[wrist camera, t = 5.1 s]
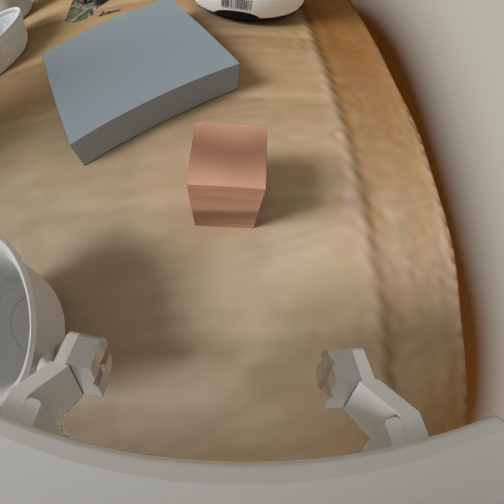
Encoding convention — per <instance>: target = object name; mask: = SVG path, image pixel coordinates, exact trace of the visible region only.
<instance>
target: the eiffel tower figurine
mask: <svg viewBox="0 0 504 504" xmlns="http://www.w3.org/2000/svg"><path fill="white" fill-rule="evenodd" d="M107 1H108V0H82V1H80V0H73V2H72V4H71V7H70V10H69V12H68V15H67V18H66V21H68V22H77V21H81V20H83V19H86V18H88V17H90V16H92V15H94V14H93V9H92V8H96V9H97V8H98V7H100V6H101V5H103V4H104V3H105V2H107ZM119 10H120V9H116V10H113V11H108V12H106V13H105V12H104V11H103V12H102V13H101V14H100V16H102V15H105V14H109V13H112V12H115V11H119Z"/></svg>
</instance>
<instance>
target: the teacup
mask: <svg viewBox="0 0 504 504" xmlns="http://www.w3.org/2000/svg"><path fill="white" fill-rule="evenodd" d="M64 339H65V318H64V313H63V309H62V306H61V303H60V301H59V299H58V297H57V295H56V293H55V291H54V290H53V288H52V287H51V286H50V285H49V284H48V282H47V281H46V280H45V279H44V278H43V277H42V276H40V275H39V274H38V273H37V272H35V271H34V270H32V269H31V268H29V267H28V266H26V265H25V264H24V263H23V262H22V260H21V258H20V256H19V254H18V253H17V252H16V250H15V249H14V247H13V246H12V245H11V244H10V243H9V242H8V241H7V240H6V239H5V238H3V237H2V236H1V235H0V407H2V406H3V405H4V403H5V400H6V398H7V396H8V394H9V392H10V390H11V389H12V388H13V387H15V386H16V385H18V384H19V383H21V382H22V381H23V380H25V379H26V378H28V377H29V376H30V375H32V374H33V373H35V372H36V371H38V370H39V369H40V368H42V367H43V366H45V365H46V364H48V363H49V362H51V361H52V362H54V360H55V358H56V356H57V354H58V352H59V350H60V348H61V346H62V343H63V341H64Z"/></svg>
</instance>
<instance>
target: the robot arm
mask: <svg viewBox="0 0 504 504" xmlns="http://www.w3.org/2000/svg"><path fill="white" fill-rule="evenodd" d="M107 345H108V343H107V340H106V338H105V337H100V336H94V335H88V334H83V333H77V332H71V331H70V332H69V333H68V334H67V335H66V337H65V339H64V341H63V343H62V346H61V348H60V350H59V352H58V354H57V356H56V358H55V360H54V362H52V361H51V362H49V363H48V364H46V365H45V366H43V367H42V368H40V369H39V370H38V371H36V372H35V373H33V374H32V375H30V376H29V377H28V378H26V379H25V380H23V381H22V382H21V383H19V384H18V385H16V386H15V387H13V388H12V389H11V390H10V392H9V394H8V396H7V398H6V400H5V403H4V405H3V407H2V410H1V412H0V504H504V420H503V419H502V418H499V417H498V416H490V417H487V418H484V419H482V420H479V421H477V422H474V423H471V424H468V425H466V426H463V427H460V428H457V429H454V430H451V431H448V432H444V433H441V434H438V435H434V436H431V437H429V435H428V433H427V430H426V427H425V425H424V422H423V420H422V417H421V415H420V412H419V411H418V410H417V409H415V408H414V407H413V406H412V405H410V404H409V403H408V402H407V401H405V400H404V399H403V398H402V397H400V396H399V395H398V394H397V393H395V392H394V391H393V390H392V389H390V388H389V387H388V386H387V385H385V384H384V383H383V382H382V381H380V380H379V379H375V377H374V374H373V372H372V369H371V367H370V364H369V361H368V359H367V356H366V354H365V351H364V349H363V348H362V347H361V348H338V349H325V350H324V351H323V353H322V359H323V360H322V361H321V362H320V363H319V364H318V367H317V372H316V379H317V385H318V387H319V388H321V389H322V391H321V394H320V398H321V403H322V407H323V409H334V408H343V409H344V410H345V411H346V412H347V414H348V415H349V416H350V417H351V418H352V419H353V420H354V421H355V422H356V423H357V425H358V426H359V427H360V428H361V429H362V430H363V431H364V432H365V433H366V434H367V435H368V437H369V438H370V440H369V441H368V442H367V443H366V445H365V446H364V447H363V448H362V449H361V451H362V452H359V453H352V454H346V455H338V456H331V457H322V458H312V459H300V460H285V461H256V462H237V461H208V460H193V459H181V458H171V457H163V456H155V455H148V454H141V453H135V452H129V451H123V450H118V449H113V448H108V447H103V446H98V445H94V444H90V443H86V442H82V441H78V440H74V439H70V438H66V437H64V433H63V431H62V430H61V429H60V427H59V426H58V425H57V424H56V422H57V421H58V420H59V419H60V418H61V417H62V416H63V415H64V414H65V413H66V412H67V411H68V410H69V409H70V408H71V407H72V406H73V405H74V404H75V403H76V402H77V401H78V400H79V399H80V398H82V397H83V396H84V395H83V394H85V395H91V396H97V397H103V396H104V393H105V389H106V386H107V382H106V380H105V378H106V377H108V376H109V375H110V373H111V369H112V355H111V352H110V351H109V350H108V349H107Z"/></svg>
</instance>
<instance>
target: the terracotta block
mask: <svg viewBox="0 0 504 504" xmlns="http://www.w3.org/2000/svg"><path fill="white" fill-rule="evenodd" d="M266 156H267V126H258V125H246V124H231V123H213V122H196V123H195V129H194V136H193V142H192V149H191V156H190V163H189V170H188V178H187V189H188V193H189V198H190V203H191V208H192V212H193V217H194V221H195V225H201V226H219V227H236V228H254V224H255V221H256V218H257V215H258V212H259V209H260V206H261V203H262V200H263V197H264V194H265V190H266Z"/></svg>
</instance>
